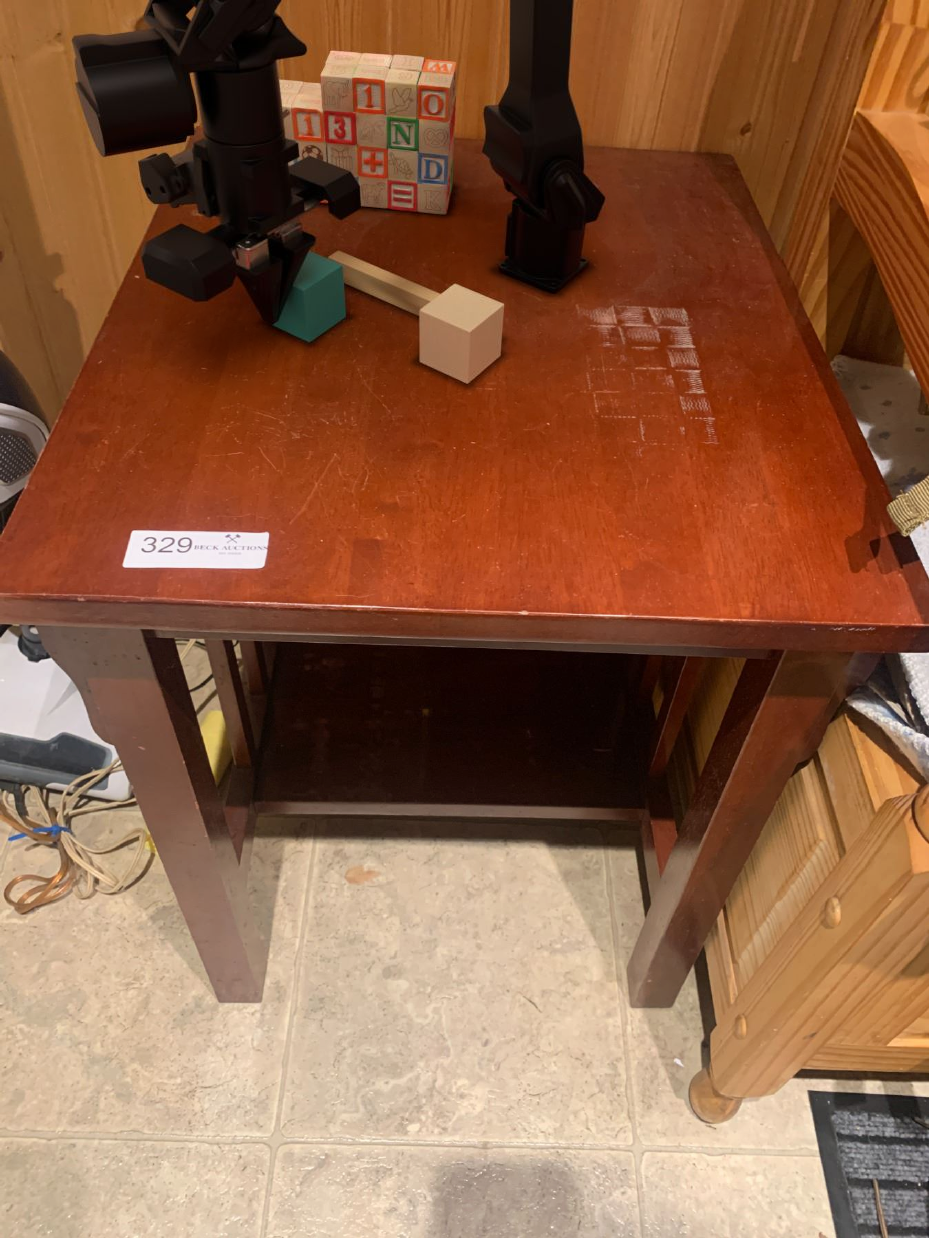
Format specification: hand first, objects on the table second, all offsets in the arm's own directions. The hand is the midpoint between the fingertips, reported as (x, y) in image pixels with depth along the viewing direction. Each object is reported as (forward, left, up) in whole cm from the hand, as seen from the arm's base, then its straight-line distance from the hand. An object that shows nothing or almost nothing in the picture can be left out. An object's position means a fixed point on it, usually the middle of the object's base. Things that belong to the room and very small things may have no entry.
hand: (271, 321), depth 77 cm
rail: (-6, -12, -2) cm, 13 cm away
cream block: (-14, -8, -2) cm, 16 cm away
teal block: (0, -4, -2) cm, 5 cm away
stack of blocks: (+12, -25, -2) cm, 27 cm away
